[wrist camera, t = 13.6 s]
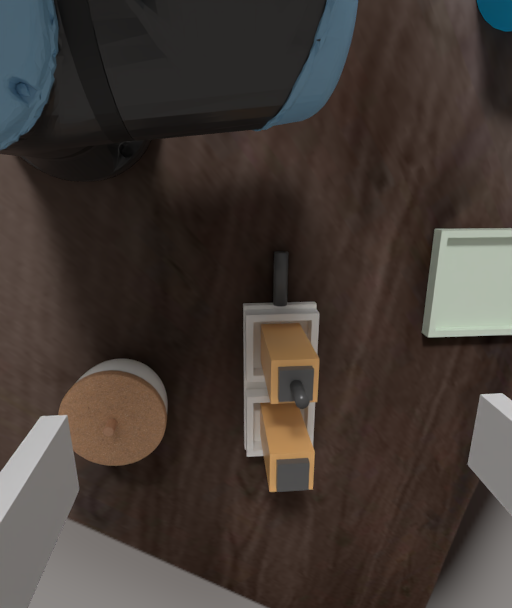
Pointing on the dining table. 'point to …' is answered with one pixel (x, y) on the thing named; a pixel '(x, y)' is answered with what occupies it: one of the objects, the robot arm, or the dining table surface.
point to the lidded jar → (116, 412)
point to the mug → (497, 13)
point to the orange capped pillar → (286, 448)
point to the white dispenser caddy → (279, 356)
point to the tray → (469, 283)
